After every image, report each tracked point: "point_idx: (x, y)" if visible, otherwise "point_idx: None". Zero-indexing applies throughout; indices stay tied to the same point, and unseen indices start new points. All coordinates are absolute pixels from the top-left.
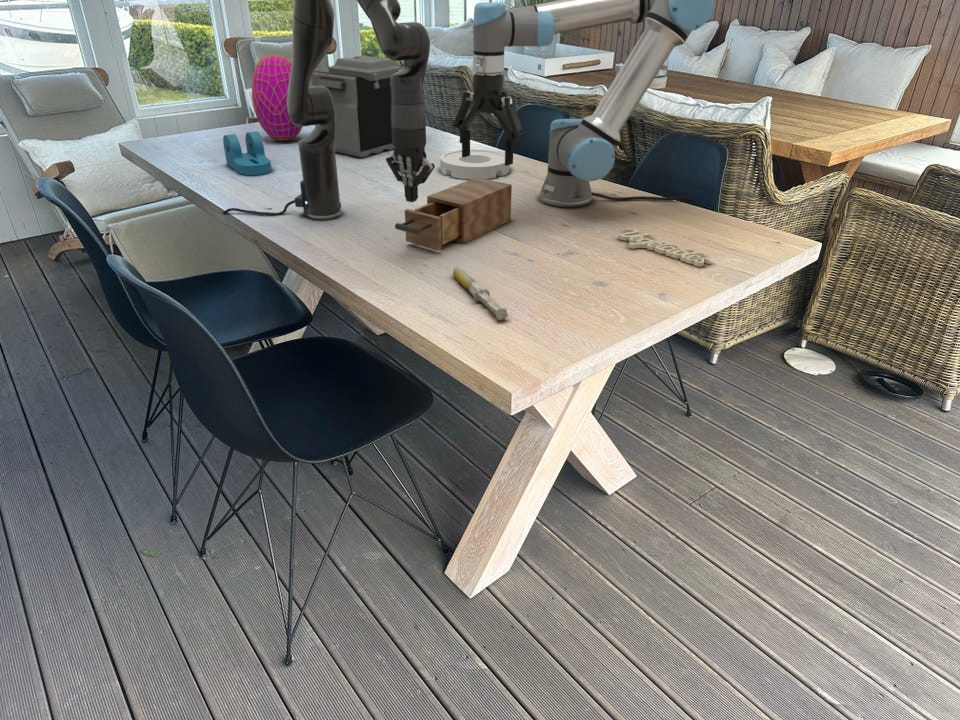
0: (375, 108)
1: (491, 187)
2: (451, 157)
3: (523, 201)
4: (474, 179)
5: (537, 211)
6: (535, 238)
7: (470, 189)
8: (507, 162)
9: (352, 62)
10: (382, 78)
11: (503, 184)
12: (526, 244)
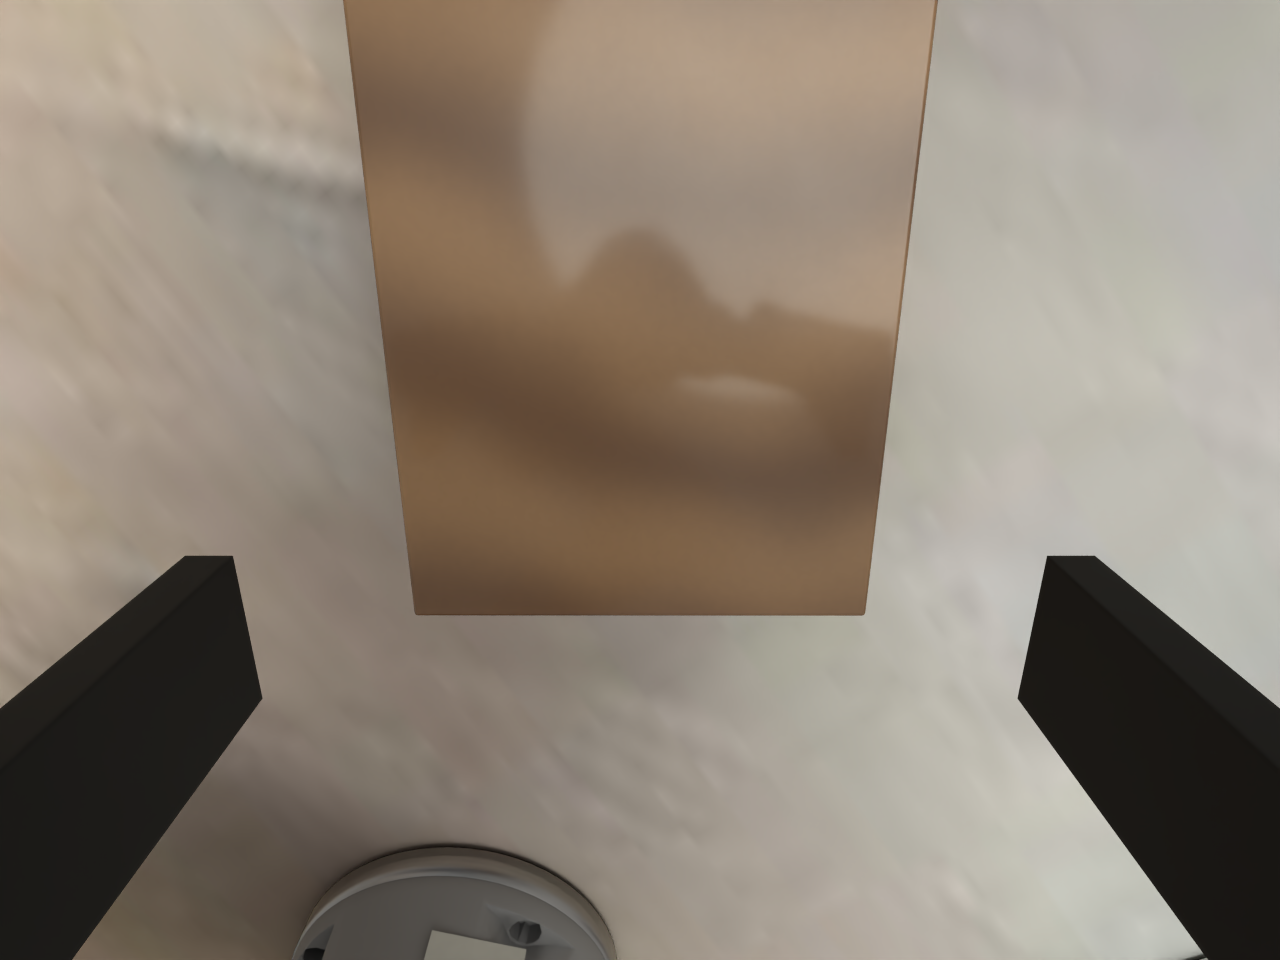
0: None
1: (509, 405)
2: None
3: (652, 824)
4: (841, 540)
5: (464, 726)
6: (102, 269)
7: (658, 183)
8: (157, 587)
9: None
10: None
11: (479, 570)
12: (51, 106)
